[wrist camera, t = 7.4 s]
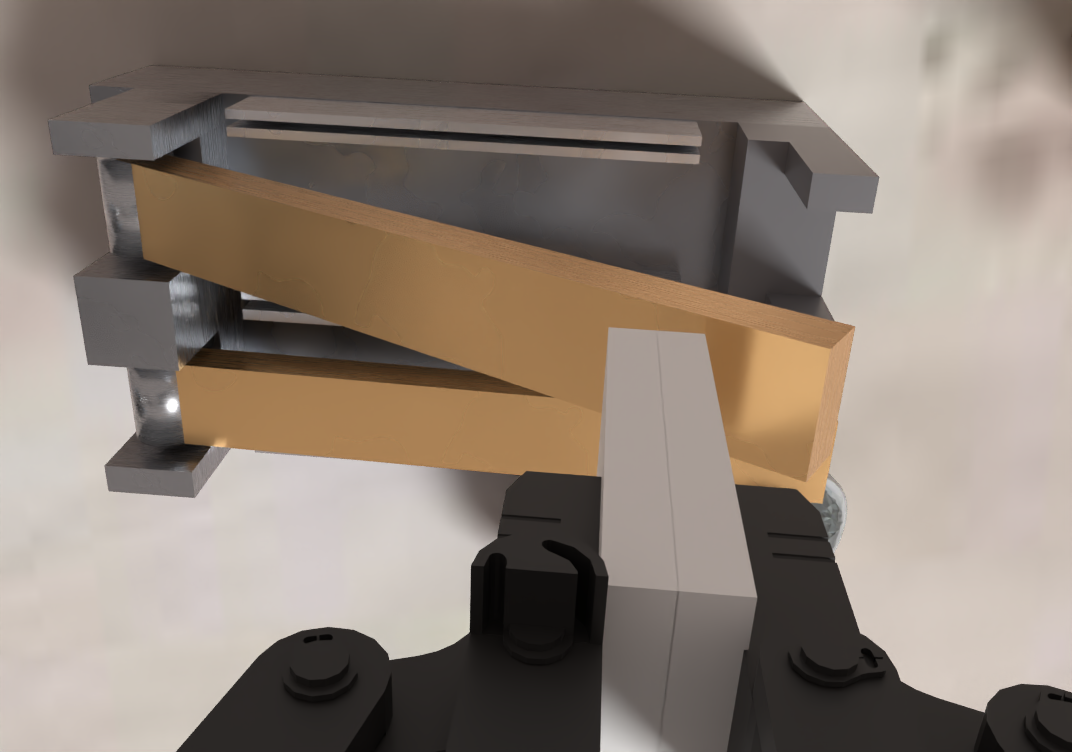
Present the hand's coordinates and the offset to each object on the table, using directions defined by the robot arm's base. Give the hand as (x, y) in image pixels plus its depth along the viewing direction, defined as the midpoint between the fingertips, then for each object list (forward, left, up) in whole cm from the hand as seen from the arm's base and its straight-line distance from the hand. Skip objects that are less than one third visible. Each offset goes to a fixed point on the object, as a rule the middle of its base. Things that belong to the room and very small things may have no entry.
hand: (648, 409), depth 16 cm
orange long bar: (-4, -5, -10) cm, 12 cm away
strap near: (-5, 0, -6) cm, 8 cm away
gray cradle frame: (-5, -3, -17) cm, 18 cm away
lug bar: (+4, -3, -13) cm, 14 cm away
